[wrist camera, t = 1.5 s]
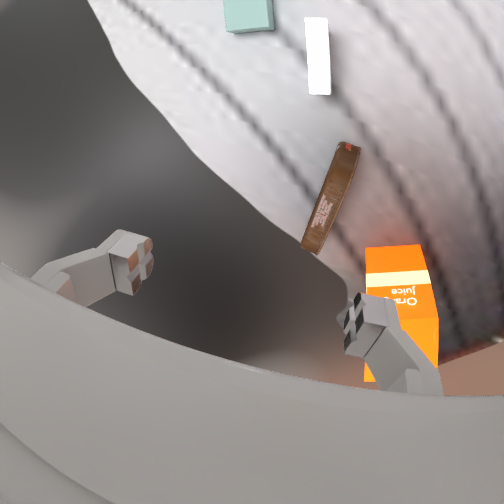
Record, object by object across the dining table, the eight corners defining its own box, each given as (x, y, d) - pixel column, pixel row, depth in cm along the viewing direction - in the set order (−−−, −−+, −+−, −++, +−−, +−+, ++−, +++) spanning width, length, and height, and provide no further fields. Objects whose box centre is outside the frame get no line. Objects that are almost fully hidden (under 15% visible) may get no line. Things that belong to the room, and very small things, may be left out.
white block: (312, 28, 24) (304, 18, 19) (329, 29, 24) (326, 18, 18) (315, 89, 29) (309, 94, 24) (332, 90, 29) (330, 94, 23)
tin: (322, 233, 41) (316, 270, 35) (303, 226, 41) (293, 261, 35) (361, 140, 31) (366, 161, 25) (337, 131, 32) (336, 149, 25)
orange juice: (416, 282, 41) (430, 392, 26) (366, 285, 44) (361, 395, 29) (420, 243, 37) (445, 358, 22) (364, 246, 40) (363, 363, 25)
